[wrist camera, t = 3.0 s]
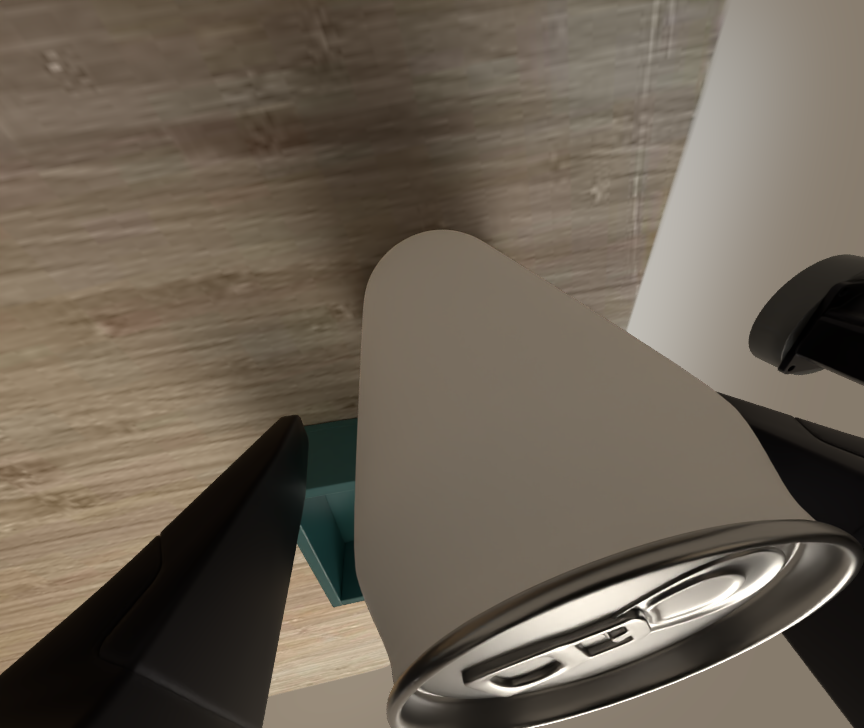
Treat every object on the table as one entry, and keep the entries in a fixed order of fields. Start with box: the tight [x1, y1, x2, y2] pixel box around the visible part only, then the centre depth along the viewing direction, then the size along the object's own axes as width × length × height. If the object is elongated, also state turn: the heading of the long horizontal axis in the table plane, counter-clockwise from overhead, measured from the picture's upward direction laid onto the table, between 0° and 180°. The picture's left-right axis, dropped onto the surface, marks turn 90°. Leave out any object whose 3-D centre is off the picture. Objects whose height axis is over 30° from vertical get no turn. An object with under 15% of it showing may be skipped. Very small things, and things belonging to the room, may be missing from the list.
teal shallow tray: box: [297, 418, 364, 607], centre depth 18 cm, size 11×11×4 cm
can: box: [354, 230, 864, 728], centre depth 9 cm, size 6×6×12 cm
